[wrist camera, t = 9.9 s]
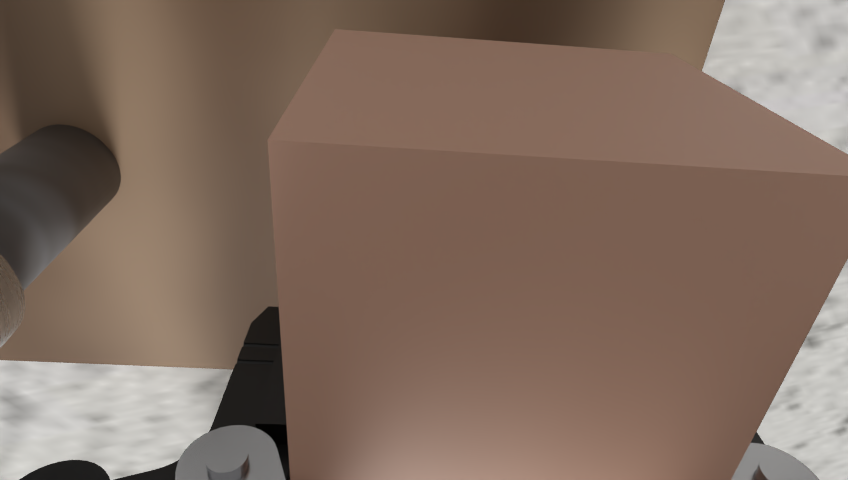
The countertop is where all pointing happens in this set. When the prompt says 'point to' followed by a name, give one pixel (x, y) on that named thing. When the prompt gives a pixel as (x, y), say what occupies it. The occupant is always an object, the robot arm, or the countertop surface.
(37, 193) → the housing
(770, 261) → the cover
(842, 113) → the countertop surface
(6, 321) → the latch key
